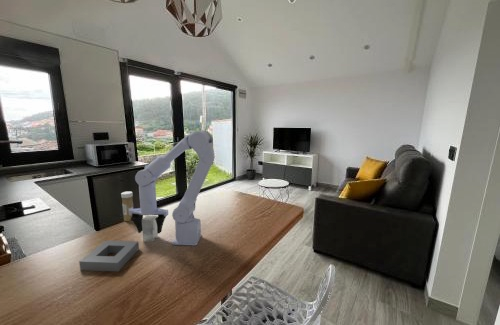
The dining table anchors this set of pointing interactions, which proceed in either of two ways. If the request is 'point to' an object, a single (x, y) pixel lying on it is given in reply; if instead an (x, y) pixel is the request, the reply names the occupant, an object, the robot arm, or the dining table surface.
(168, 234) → the dining table surface
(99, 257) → the frame
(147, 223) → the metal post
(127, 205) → the sprinkles bottle
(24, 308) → the dining table surface
